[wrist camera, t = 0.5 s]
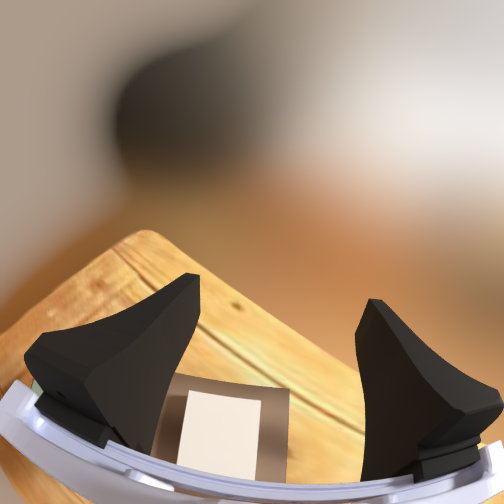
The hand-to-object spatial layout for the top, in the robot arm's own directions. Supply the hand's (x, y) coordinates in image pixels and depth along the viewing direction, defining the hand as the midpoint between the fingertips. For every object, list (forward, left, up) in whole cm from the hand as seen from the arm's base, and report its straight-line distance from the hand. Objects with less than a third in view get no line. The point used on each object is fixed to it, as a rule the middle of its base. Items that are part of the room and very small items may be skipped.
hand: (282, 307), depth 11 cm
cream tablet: (-4, +1, -14) cm, 15 cm away
